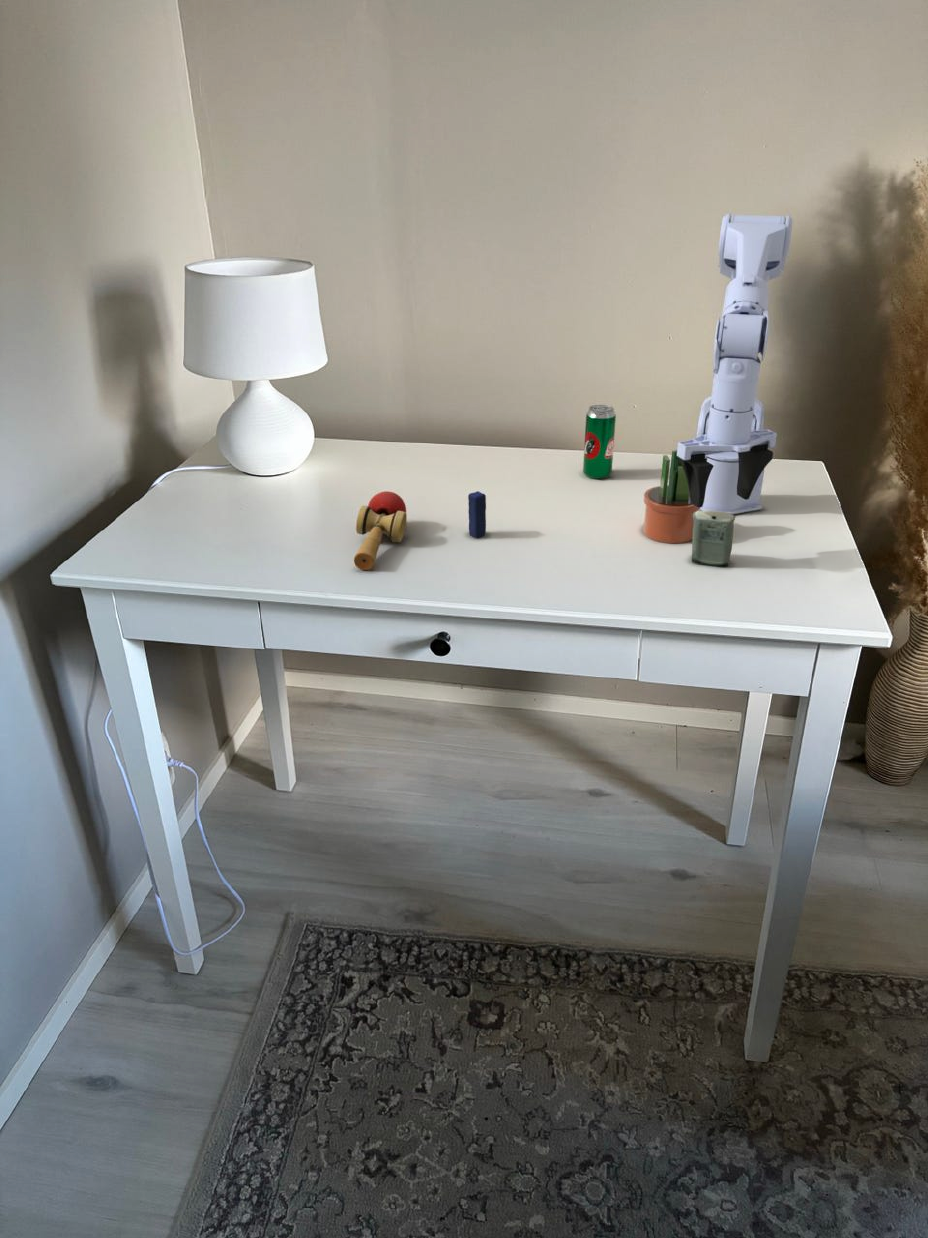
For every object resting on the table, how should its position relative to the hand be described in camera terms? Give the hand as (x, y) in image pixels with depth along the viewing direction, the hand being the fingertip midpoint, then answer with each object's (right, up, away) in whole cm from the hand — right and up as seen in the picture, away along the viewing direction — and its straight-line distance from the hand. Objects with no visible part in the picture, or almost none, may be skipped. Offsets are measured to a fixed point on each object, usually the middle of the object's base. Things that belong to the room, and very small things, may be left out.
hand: (719, 500), depth 137 cm
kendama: (-49, -6, +10) cm, 50 cm away
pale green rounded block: (-1, -9, +4) cm, 10 cm away
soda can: (-13, +9, +35) cm, 38 cm away
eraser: (-34, -4, +13) cm, 37 cm away
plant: (-4, -3, +13) cm, 14 cm away
